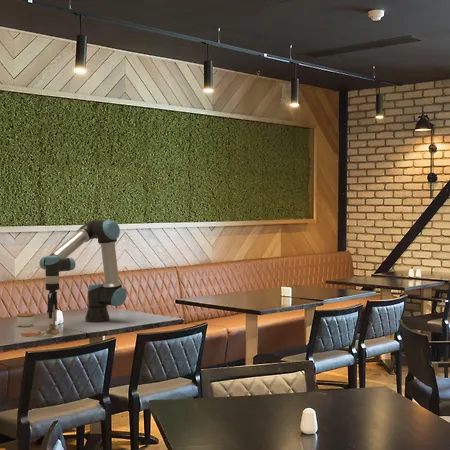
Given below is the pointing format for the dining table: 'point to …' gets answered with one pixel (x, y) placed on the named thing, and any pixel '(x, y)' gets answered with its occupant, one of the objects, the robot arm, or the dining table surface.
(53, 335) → the rest pad
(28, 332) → the tile
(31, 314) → the lidded jar
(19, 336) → the board
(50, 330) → the pusher
